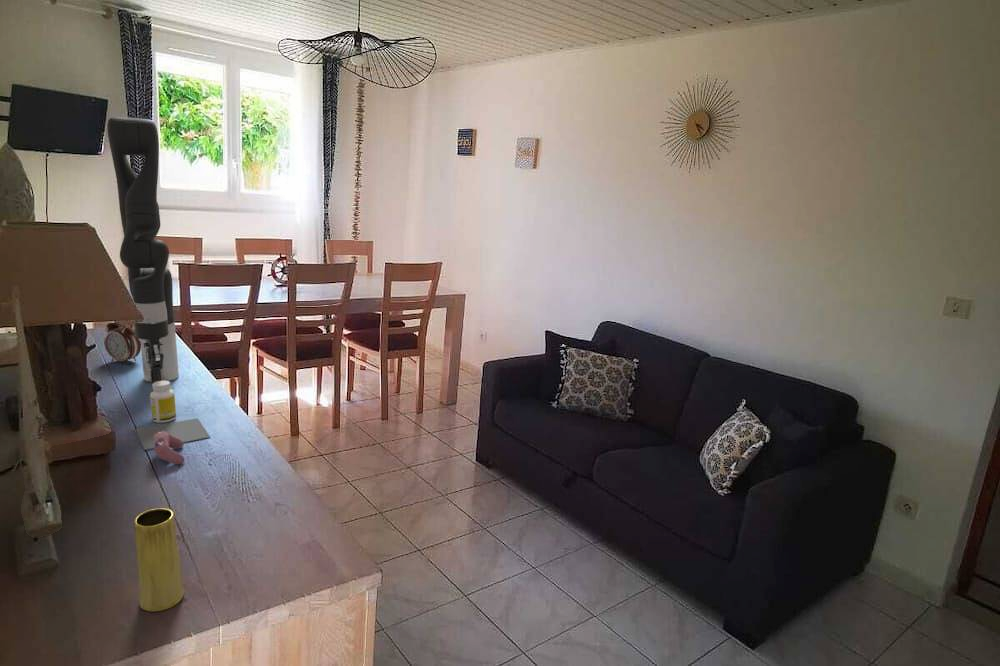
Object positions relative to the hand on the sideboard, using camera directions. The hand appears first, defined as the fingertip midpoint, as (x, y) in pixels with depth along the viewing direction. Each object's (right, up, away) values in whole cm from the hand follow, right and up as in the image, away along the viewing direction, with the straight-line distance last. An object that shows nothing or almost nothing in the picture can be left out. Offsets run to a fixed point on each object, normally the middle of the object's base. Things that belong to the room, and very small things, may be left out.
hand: (156, 382), depth 164 cm
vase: (+38, -28, -67) cm, 82 cm away
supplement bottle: (+4, -9, -3) cm, 11 cm away
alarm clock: (-30, +4, +36) cm, 47 cm away
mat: (+10, -12, -11) cm, 19 cm away
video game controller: (+15, -15, -23) cm, 31 cm away
